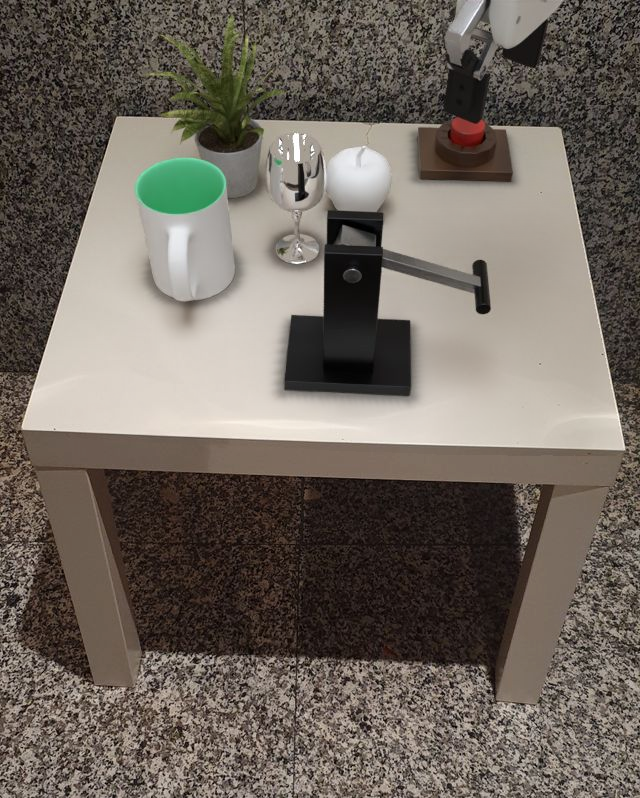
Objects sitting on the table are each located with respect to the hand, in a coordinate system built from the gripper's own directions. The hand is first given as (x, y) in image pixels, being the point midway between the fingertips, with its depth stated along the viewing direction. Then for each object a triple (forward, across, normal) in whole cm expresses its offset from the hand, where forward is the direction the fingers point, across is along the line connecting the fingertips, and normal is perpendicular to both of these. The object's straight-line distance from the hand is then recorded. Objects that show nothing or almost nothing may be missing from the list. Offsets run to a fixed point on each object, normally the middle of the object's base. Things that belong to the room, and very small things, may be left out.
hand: (491, 88), depth 68 cm
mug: (+20, -18, +19) cm, 33 cm away
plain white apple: (+20, +1, +13) cm, 24 cm away
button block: (+20, +15, +8) cm, 26 cm away
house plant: (+20, -3, +28) cm, 34 cm away
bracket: (+19, -17, +2) cm, 26 cm away
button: (+17, +15, +8) cm, 24 cm away
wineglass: (+20, -8, +14) cm, 25 cm away
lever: (+9, -14, -2) cm, 17 cm away
